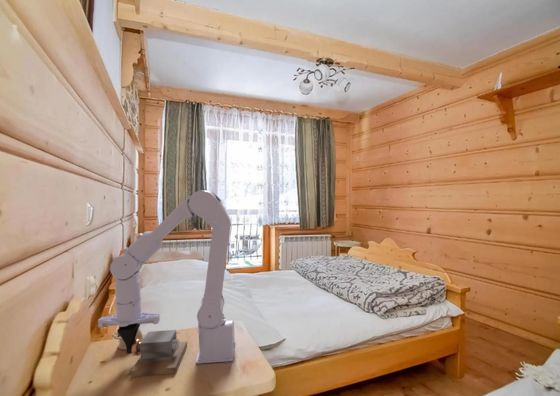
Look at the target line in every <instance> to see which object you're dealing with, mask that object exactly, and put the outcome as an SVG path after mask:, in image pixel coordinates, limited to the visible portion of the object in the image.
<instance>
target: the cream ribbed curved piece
mask: <svg viewBox="0 0 560 396" xmlns="http://www.w3.org/2000/svg"><path fill="white" fill-rule="evenodd" d="M116 335H119V334H118V332H113V333H111V337H112V338H113V339H116V340H118V342H119V344H118V345H117V348H118V349H119V350H126V344H125V342H124V341H123V339H122V338H121V336H120V335H119V336H116ZM135 339H142V340H143V339H144V337H143V333H142V330H141V328H139V329H138V331H137V334H136V337H135Z"/></svg>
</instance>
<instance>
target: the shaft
mask: <svg viewBox="0 0 560 396" xmlns="http://www.w3.org/2000/svg"><path fill="white" fill-rule="evenodd" d="M141 341H142V339H135V340H134V341H133V344H132V349H131V352H132V353H131V356H132V357H138V356H141V355H140V343H141ZM179 342H180V340H179V338H177V339H176V340H173V341H172V350H178V348H179Z"/></svg>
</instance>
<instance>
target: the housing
mask: <svg viewBox="0 0 560 396" xmlns="http://www.w3.org/2000/svg"><path fill="white" fill-rule="evenodd" d="M177 336H178V335H177V330H176V329H171V330H170V329H169V330H152V331H148V332H147V333H146V334H145V336H144V337H143V338H144V339H143V340H142V341H141V343H140V355H139V356H140V357H139V358H138V359H137V360H136V362H135V364H134V365H133V367H132V368H131V370H130V376H131V378H132V377H133V378H134V377H145V376H146V377H147V376H159V375H168V374H169V375H173V374H177V372H178V371H179V367H180V365H181V364H182V360H183V358H184V356H185V353H186V351H187V348H188V341H179V348H178V350H172V341H173V340H176V339H178V337H177Z"/></svg>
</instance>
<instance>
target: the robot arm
mask: <svg viewBox="0 0 560 396" xmlns="http://www.w3.org/2000/svg"><path fill="white" fill-rule="evenodd" d="M195 216H197V217H199V218H201V219H203V220H205V222H206V223H207V224H208V225H209V226H210V227H211V228H212V230H211V231H212V232H211V239H210V247H209V255H208V263H207V271H206V279H205V286H204V292H203V297H202V299H201V303H200V307H199V309H198V311H197V314H196V319H197V324H198V327H197V328H198V329H197V330H198V350H199V351H198V353H197V356H196V359H195V364H209V363H211V364H212V363H221V362H222V363H224V362H225V363H226V362H232V361H234V356H235V349H236V340H235V321H234V320H233V319H227V318H226V316H225V315H224V313H223V312H224V306H225V298H224V296H223V295H224V294H223V289H224V288H223V287H224V280H225V271H226V263H227V257H228V249H229V241H230V240H229V239H230V234H231V233H230V232H231V225H232V221H231V218H230V216H229V214H228V212H227V210H226V208H225V206H224V205H223V202H222V199H221V198H220V197H219V196H218V195H217V194H216V193H214V192H213V191H212V190H210V189H203V190H198V191H195V192H193V194H191V196H190V197H187V198H186V199H185V200H183V201H182V202H181V203H180V204H178V205H177V206H176V207H175V208H174V209H173V210H172V211H171V212H170V213H169V214H168V215H167V216H166V217H165V218H164V219H163V220H162V222H160V223H159V224H158V225H157V227H155V229H153V230H151V231H150V230H148V231H144V232H143V233H142V232H141V233H139V234H138V235H136V236H135V237H136V240H134V242H133V243H131V245H130V246H126V247H124V248H123V250H122V252H123V253H122V254H121V255H118V256H116V257H115V258H114V259H113V261H112V262H111V263H110V267H109V271H110V273H111V276H113V278H114V290H115V291H114V294H115V309H116V310H115V311H116V313H115V314H113V315H109V316H108V315H107V316H101V317H100V318H99V319H98V320H97V323H98V324H97V327H98V328H103V327H110V326H118V329H117V330H116V331H117V332H118V334H119V337H120V336H121V338H122V339H123V341H124V342H125V344H126V349H125V350H126V354H127V355H128V354H129V355H130V354H131V355H132V352H131V349H132V344H133V341H134V340H135V337H136V334H137V331H138V329H140V326H141V325H144V324H147V325H148V324H153V325H158V324H159V323H160V322H161V319H160V318H161V316H160V313H151V312H142V297H141V294H142V293H141V280H140V279H141V278H140V270H141V269H142V266H143V265H144V264H146V262H148V261H149V260H150V259H151V258H152V257H153V256H154V255H155V254H156V253H157V252H158V251H160V249H161V248H162V247H163V239H164V238H166V236H168V235H169V234H170V233H171V232H172V231H173V230H174V229H175V228H176V227H178V225H179V224H181V223H182V222H183V221H184V220H186V219H190V218H193V217H195Z"/></svg>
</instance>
